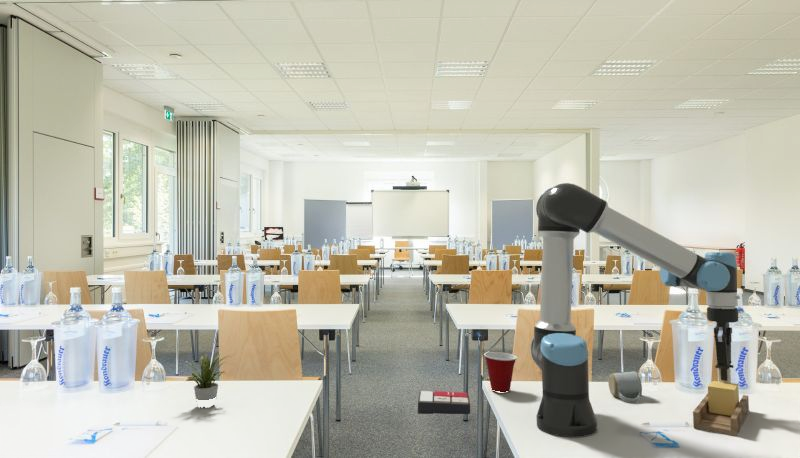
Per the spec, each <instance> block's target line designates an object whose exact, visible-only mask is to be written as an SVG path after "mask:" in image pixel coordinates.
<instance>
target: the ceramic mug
mask: <svg viewBox="0 0 800 458" xmlns="http://www.w3.org/2000/svg"><path fill="white" fill-rule="evenodd" d="M642 385H643V384H642V381H641V378H640V375H639V373H638V372H637V371H626V372H625V371H624V372H615V373H611V374H610V375H609V376H608V389H609V391H610V394H611V395H612V396H613V397H614V398H620V399H621V400H622V401H623V402H626V403H629V404H634V403H637V402H639V401H640V399H641V396H642V393H643V387H642Z"/></svg>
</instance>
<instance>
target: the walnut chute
mask: <svg viewBox="0 0 800 458" xmlns="http://www.w3.org/2000/svg"><path fill="white" fill-rule="evenodd" d="M749 403H750V401H749V395H742V397H741V399H739V404H738V405H737V407H736V409H735V411H734V413H733V414H732V416H729V415H723V414H717V413H710V412H709V404H708V393H706V395H705V396H704V397H703V398H702V400H701V401H700V402H699V404H698V405H697V406H696V407H695V409H694V410H693V411H692V417H693V418H692V419H693V420H692V421H693V422H692V423H693V429H695V430H701V431H706V432H712V433H716V434H723V435H726V436H727V435H728V436H734V437H738V435H739V433H740V431H741V428H742V426H743V425H744V423H745V420H746V418H747V416H748V414H749V412H750V405H749Z"/></svg>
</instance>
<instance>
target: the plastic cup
mask: <svg viewBox="0 0 800 458" xmlns="http://www.w3.org/2000/svg"><path fill="white" fill-rule="evenodd" d="M483 356H484V359H485V364H486V367H487V374H488V379H489V382H490V383H489V384H490V388H492V389H491V391H492V390H495V391H500V392H506V391H509V390H510V391H511V385H512V381H513V380H512V379H513V373H514V367H515V362H516V361H517V359H518V356H516V355H514V354H512V353H508V352H499V351H487V352H485V353H484V354H483ZM510 391H509V392H510Z"/></svg>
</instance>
